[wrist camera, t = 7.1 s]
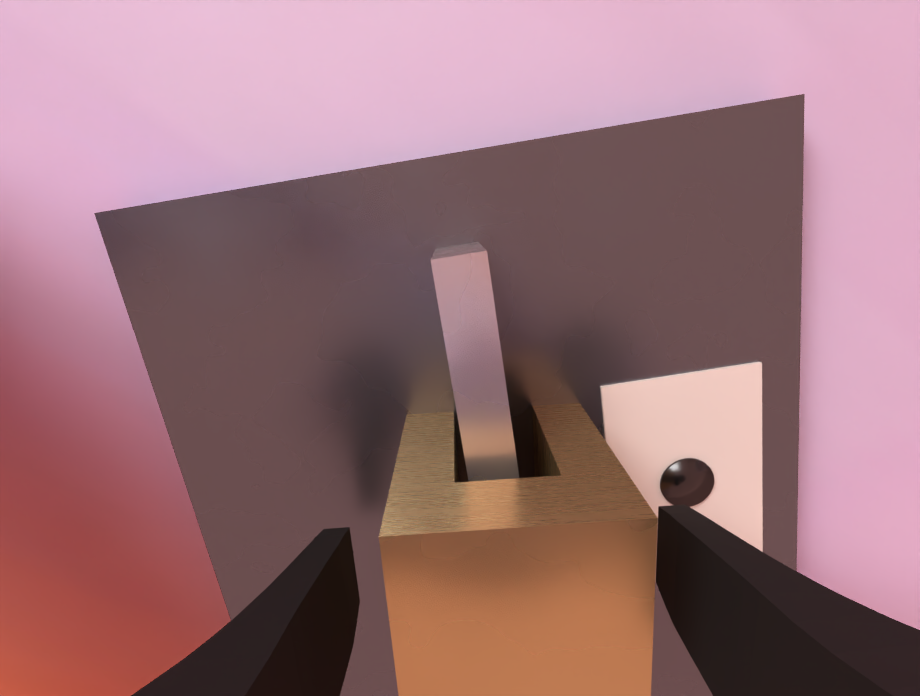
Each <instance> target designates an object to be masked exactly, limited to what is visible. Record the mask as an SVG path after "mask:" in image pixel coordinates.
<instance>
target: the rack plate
mask: <svg viewBox="0 0 920 696" xmlns="http://www.w3.org/2000/svg"><path fill="white" fill-rule="evenodd" d="M803 146H804V94H802V95H796V96H790V97H784V98H778V99H772V100H766V101H760V102H755V103H749V104H743V105H737V106H731V107H725V108H719V109H713V110H707V111H701V112H695V113H689V114H683V115H677V116H671V117H665V118H659V119H653V120H647V121H641V122H635V123H629V124H623V125H617V126H612V127H606V128H600V129H594V130H588V131H582V132H576V133H570V134H564V135H558V136H552V137H546V138H540V139H534V140H528V141H522V142H516V143H510V144H504V145H498V146H492V147H486V148H480V149H475V150H469V151H463V152H457V153H451V154H445V155H439V156H433V157H427V158H421V159H415V160H409V161H403V162H397V163H391V164H385V165H379V166H373V167H367V168H361V169H355V170H349V171H343V172H337V173H332V174H326V175H320V176H314V177H308V178H302V179H296V180H290V181H284V182H278V183H272V184H266V185H260V186H254V187H248V188H242V189H236V190H230V191H224V192H218V193H212V194H206V195H200V196H194V197H189V198H183V199H177V200H171V201H165V202H159V203H153V204H147V205H141V206H135V207H129V208H123V209H117V210H111V211H105V212H99V213H95V216H96V219H97V222H98V225H99V228H100V231H101V234H102V237H103V240H104V243H105V246H106V249H107V252H108V255H109V258H110V261H111V264H112V267H113V270H114V273H115V276H116V279H117V282H118V285H119V288H120V291H121V294H122V297H123V300H124V303H125V306H126V309H127V312H128V315H129V318H130V321H131V324H132V327H133V330H134V332H135V335H136V338H137V341H138V344H139V347H140V350H141V353H142V356H143V359H144V362H145V365H146V368H147V371H148V374H149V377H150V380H151V383H152V386H153V389H154V392H155V395H156V398H157V401H158V404H159V407H160V410H161V413H162V416H163V419H164V422H165V425H166V428H167V431H168V434H169V437H170V440H171V443H172V446H173V449H174V452H175V455H176V458H177V461H178V464H179V467H180V470H181V473H182V475H183V478H184V481H185V484H186V487H187V490H188V493H189V496H190V499H191V502H192V505H193V508H194V511H195V514H196V517H197V520H198V523H199V526H200V529H201V532H202V535H203V538H204V541H205V544H206V547H207V550H208V553H209V556H210V559H211V562H212V565H213V568H214V571H215V574H216V577H217V580H218V583H219V586H220V589H221V592H222V595H223V598H224V601H225V604H226V607H227V610H228V613H229V615H230V618H231V620H233V619H234V618H235V617H236V616H237V615H238V614H239V613H240V612H241V611H242V610H243V609H244V608H246V607H247V606H248V605H249V604H250V603H251V602H252V601H253V600H254V599H255V598H256V597H257V596H258V595H260V594H261V593H262V592H263V591H264V590H265V589H266V588H267V587H268V586H269V585H270V584H271V583H272V582H273V581H274V580H275V579H276V578H277V577H278V576H279V575H280V574H281V573H282V572H283V571H284V570H285V569H286V568H287V567H288V566H289V565H290V564H291V563H292V561H293V560H294V559H295V558H296V557H297V556H298V555H299V554H300V553H301V552H302V551H303V550H304V549H305V548H306V547H307V546H308V545H309V544H310V542H311V541H312V540H313V539H314V538H315V537H316V536H317V535H318V534H319V533H320V532H321V531H322V530H323V529H330V528H344V527H350V533H351V541H352V548H353V555H354V562H355V569H356V576H357V583H358V590H359V597H360V605H359V612H358V619H357V626H356V632H355V638H354V644H353V649H352V652H351V656H350V660H349V664H348V667H347V671H346V675H345V679H344V682H343V686H342V690H341V693H340V696H399V695H398V687H397V679H396V671H395V663H394V655H393V647H392V639H391V631H390V623H389V615H388V607H387V599H386V591H385V583H384V575H383V567H382V559H381V551H380V543H379V533H380V529H381V525H382V520H383V516H384V512H385V507H386V503H387V498H388V494H389V490H390V485H391V481H392V477H393V472H394V468H395V463H396V459H397V455H398V450H399V446H400V441H401V437H402V433H403V428H404V424H405V420H406V415H410V414H424V413H439V412H454V421H455V434H456V448H457V461H458V474H459V482H471V481H486V480H500V479H515V478H530V477H535V470H534V439H533V408H532V406H541V405H556V404H570V403H580V404H581V406H582V407H583V409H584V410H585V411H586V413H587V414H588V416H589V417H590V419H591V420H592V422H593V423H594V425H595V426H596V428H597V429H598V431H599V432H600V434H601V435H602V437H603V438H604V440H605V441H606V442H607V444H608V445H609V447H610V448H611V450H612V451H613V453H614V454H615V456H616V457H617V459H618V460H619V462H620V463H621V465H622V466H623V468H624V469H625V470H626V472H627V473H628V475H629V476H630V478H631V479H632V481H633V482H634V484H635V485H636V487H637V488H638V490H639V491H640V493H641V494H642V496H643V497H644V499H645V500H646V501H647V503H648V504H649V506H650V507H651V509H652V510H653V512H654V513H655V515H656V516H657V518H658V506H671V505H687V506H688V507H690V508H692V509H694V510H695V511H697V512H699V513H701V514H702V515H704V516H705V517H707V518H709V519H710V520H712V521H714V522H715V523H717V524H718V525H720V526H721V527H723V528H725V529H726V530H728V531H729V532H731V533H733V534H734V535H736V536H737V537H739V538H741V539H742V540H744V541H746V542H747V543H749V544H750V545H752V546H754V547H755V548H757V549H759V550H760V551H762V552H764V553H765V554H767V555H769V556H770V557H772V558H774V559H775V560H777V561H779V562H781V563H782V564H784V565H786V566H788V567H789V568H791V569H793V570H795V571H796V557H797V498H798V440H799V381H800V322H801V263H802V205H803ZM657 530H658V524H657ZM656 555H657V550H656ZM651 696H713V695H712V693H711V691H710V690H709V688H708V686H707V684H706V682H705V681H704V679H703V677H702V675H701V674H700V672H699V670H698V668H697V666H696V665H695V663H694V661H693V659H692V658H691V656H690V654H689V652H688V650H687V649H686V647H685V645H684V643H683V641H682V640H681V638H680V636H679V634H678V632H677V630H676V629H675V627H674V625H673V623H672V620H671V618H670V616H669V613H668V611H667V609H666V606H665V604H664V601H663V599H662V596H661V594H660V591H659V589H658V586H657V584H656V575H655V601H654V626H653V652H652V678H651Z"/></svg>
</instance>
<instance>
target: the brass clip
mask: <svg viewBox="0 0 920 696" xmlns="http://www.w3.org/2000/svg"><path fill="white" fill-rule="evenodd" d="M532 408H533V439H534V470H535V477H530V478H515V479H500V480H486V481H471V482H459V474H458V461H457V448H456V434H455V421H454V412H439V413H424V414H410V415H406V420H405V424H404V428H403V433H402V437H401V441H400V446H399V450H398V455H397V459H396V463H395V468H394V472H393V477H392V481H391V485H390V490H389V494H388V498H387V503H386V507H385V512H384V516H383V520H382V525H381V529H380V533H379V543H380V551H381V559H382V567H383V575H384V583H385V591H386V599H387V607H388V615H389V623H390V631H391V639H392V647H393V655H394V663H395V671H396V679H397V687H398V695H399V696H651V678H652V652H653V626H654V601H655V575H656V550H657V524H658V518H657V516H656V515H655V513H654V512H653V510H652V509H651V507H650V506H649V504H648V503H647V501H646V500H645V499H644V497H643V496H642V494H641V493H640V491H639V490H638V488H637V487H636V485H635V484H634V482H633V481H632V479H631V478H630V476H629V475H628V473H627V472H626V470H625V469H624V468H623V466H622V465H621V463H620V462H619V460H618V459H617V457H616V456H615V454H614V453H613V451H612V450H611V448H610V447H609V445H608V444H607V442H606V441H605V440H604V438H603V437H602V435H601V434H600V432H599V431H598V429H597V428H596V426H595V425H594V423H593V422H592V420H591V419H590V417H589V416H588V414H587V413H586V411H585V410H584V409H583V407H582V406H581V404H580V403H570V404H556V405H541V406H532Z"/></svg>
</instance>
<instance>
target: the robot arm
mask: <svg viewBox="0 0 920 696" xmlns="http://www.w3.org/2000/svg"><path fill="white" fill-rule="evenodd" d="M656 584H657V586H658V589H659V591H660V594H661V596H662V599H663V601H664V604H665V606H666V609H667V611H668V613H669V616H670V618H671V620H672V623H673V625H674V627H675V629H676V630H677V632H678V634H679V636H680V638H681V640H682V641H683V643H684V645H685V647H686V649H687V650H688V652H689V654H690V656H691V658H692V659H693V661H694V663H695V665H696V666H697V668H698V670H699V672H700V674H701V675H702V677H703V679H704V681H705V682H706V684H707V686H708V688H709V690H710V691H711V693H712V695H713V696H920V630H918V629H916V628H913V627H911V626H908V625H906V624H903V623H901V622H899V621H896V620H894V619H892V618H889V617H887V616H885V615H883V614H880V613H878V612H876V611H874V610H872V609H870V608H867V607H865V606H863V605H861V604H859V603H857V602H855V601H853V600H851V599H848V598H846V597H844V596H842V595H840V594H838V593H836V592H834V591H832V590H830V589H828V588H826V587H824V586H822V585H820V584H819V583H817V582H815V581H813V580H811V579H809V578H808V577H806V576H804V575H802V574H800V573H798V572H797V571H795V570H793V569H791V568H789V567H788V566H786V565H784V564H782V563H781V562H779V561H777V560H775V559H774V558H772V557H770V556H769V555H767V554H765V553H764V552H762V551H760V550H759V549H757V548H755V547H754V546H752V545H750V544H749V543H747V542H746V541H744V540H742V539H741V538H739V537H737V536H736V535H734V534H733V533H731V532H729V531H728V530H726V529H725V528H723V527H721V526H720V525H718V524H717V523H715V522H714V521H712V520H710V519H709V518H707V517H705V516H704V515H702V514H701V513H699V512H697V511H695V510H694V509H692V508H690V507H688V506H687V505H671V506H658V530H657V555H656ZM359 605H360V597H359V590H358V583H357V576H356V569H355V562H354V555H353V548H352V541H351V533H350V527H344V528H330V529H323V530H322V531H321V532H320V533H319V534H318V535H317V536H316V537H315V538H314V539H313V540H312V541H311V542H310V544H309V545H308V546H307V547H306V548H305V549H304V550H303V551H302V552H301V553H300V554H299V555H298V556H297V557H296V558H295V559H294V560H293V561H292V563H291V564H290V565H289V566H288V567H287V568H286V569H285V570H284V571H283V572H282V573H281V574H280V575H279V576H278V577H277V578H276V579H275V580H274V581H273V582H272V583H271V584H270V585H269V586H268V587H267V588H266V589H265V590H264V591H263V592H262V593H261V594H260V595H258V596H257V597H256V598H255V599H254V600H253V601H252V602H251V603H250V604H249V605H248V606H247V607H246V608H244V609H243V610H242V611H241V612H240V613H239V614H238V615H237V616H236V617H235V618H234V619H233V620H231V621H230V622H229V623H228V624H227V625H226V626H224V627H223V628H222V629H221V630H220V631H219V632H217V633H216V634H215V635H214V636H213V637H211V638H210V639H209V640H207V641H206V642H205V643H204V644H202V645H201V646H200V647H199V648H197V649H196V650H195V651H194V652H192V653H191V654H190V655H188V656H187V657H186V658H184V659H183V660H182V661H180V662H179V663H178V664H176V665H175V666H173V667H172V668H170V669H169V670H167V671H166V672H165V673H163V674H162V675H160V676H159V677H157V678H156V679H155V680H153V681H152V682H150V683H149V684H147V685H146V686H145V687H143V688H142V689H140V690H139V691H137V692H136V693H135V694H133V695H131V696H340V693H341V690H342V686H343V682H344V679H345V675H346V671H347V667H348V664H349V660H350V656H351V652H352V649H353V644H354V638H355V632H356V626H357V619H358V612H359Z"/></svg>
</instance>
